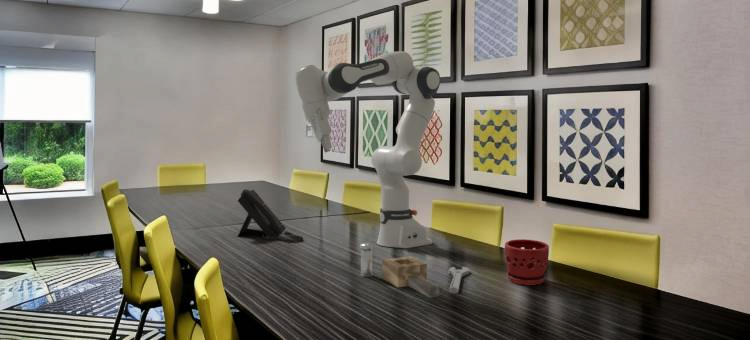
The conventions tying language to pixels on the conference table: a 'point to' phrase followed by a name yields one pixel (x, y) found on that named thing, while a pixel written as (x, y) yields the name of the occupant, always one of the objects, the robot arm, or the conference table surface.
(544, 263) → the plant pot
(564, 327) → the conference table surface
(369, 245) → the clear glass bottle
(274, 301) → the conference table surface
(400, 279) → the mortise block
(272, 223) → the office phone
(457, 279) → the adjustable wrench
